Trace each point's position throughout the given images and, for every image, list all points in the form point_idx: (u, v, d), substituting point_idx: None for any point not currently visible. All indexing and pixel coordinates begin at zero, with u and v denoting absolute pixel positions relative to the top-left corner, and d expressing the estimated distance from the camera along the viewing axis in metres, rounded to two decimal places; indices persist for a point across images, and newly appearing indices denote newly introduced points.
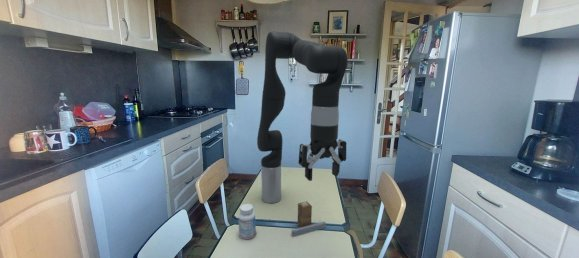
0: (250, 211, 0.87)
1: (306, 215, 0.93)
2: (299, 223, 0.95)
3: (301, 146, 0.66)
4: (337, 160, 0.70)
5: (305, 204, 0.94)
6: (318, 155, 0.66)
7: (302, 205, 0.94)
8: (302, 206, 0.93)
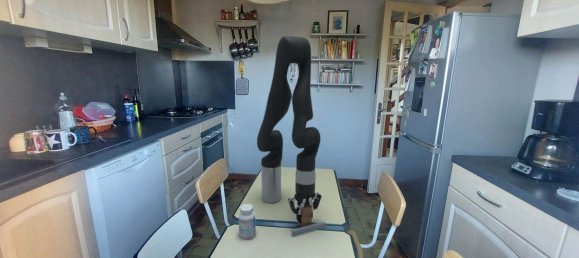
0: (250, 211, 0.87)
1: (306, 215, 0.93)
2: (299, 223, 0.95)
3: (288, 201, 0.91)
4: None
5: None
6: (302, 204, 0.92)
7: None
8: None
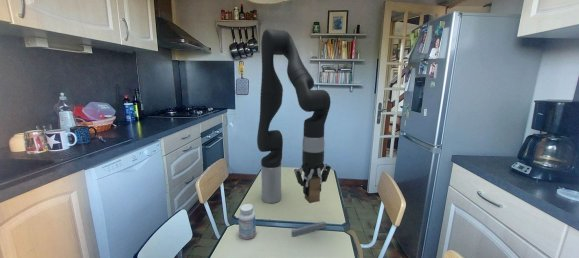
0: (250, 211, 0.87)
1: (314, 188, 0.85)
2: (306, 197, 0.88)
3: (295, 171, 0.83)
4: None
5: (313, 176, 0.86)
6: (310, 175, 0.84)
7: None
8: None
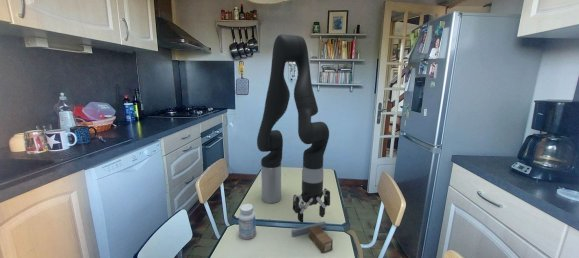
0: (250, 211, 0.87)
1: None
2: (310, 234, 0.88)
3: (294, 197, 0.85)
4: (323, 205, 0.89)
5: (328, 247, 0.82)
6: (307, 203, 0.86)
7: (324, 249, 0.81)
8: (323, 250, 0.81)
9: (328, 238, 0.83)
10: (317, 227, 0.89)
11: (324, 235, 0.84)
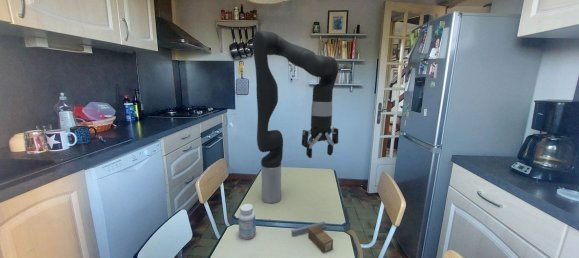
0: (250, 211, 0.87)
1: None
2: (310, 234, 0.88)
3: (304, 131, 0.88)
4: (331, 143, 0.91)
5: (328, 247, 0.82)
6: (316, 138, 0.88)
7: (325, 248, 0.81)
8: (324, 250, 0.81)
9: (328, 238, 0.83)
10: (316, 227, 0.89)
11: (324, 235, 0.85)
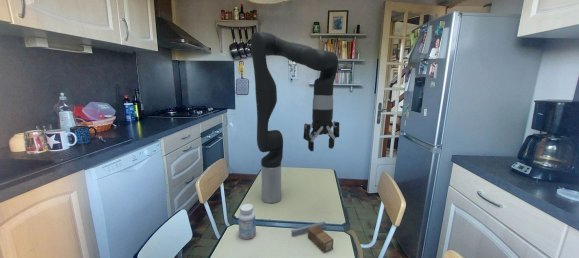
0: (250, 211, 0.87)
1: None
2: (309, 234, 0.87)
3: (305, 125, 0.89)
4: (332, 136, 0.93)
5: (329, 247, 0.82)
6: (318, 131, 0.89)
7: (325, 248, 0.81)
8: (325, 250, 0.81)
9: (328, 237, 0.83)
10: (316, 227, 0.89)
11: (324, 234, 0.85)
